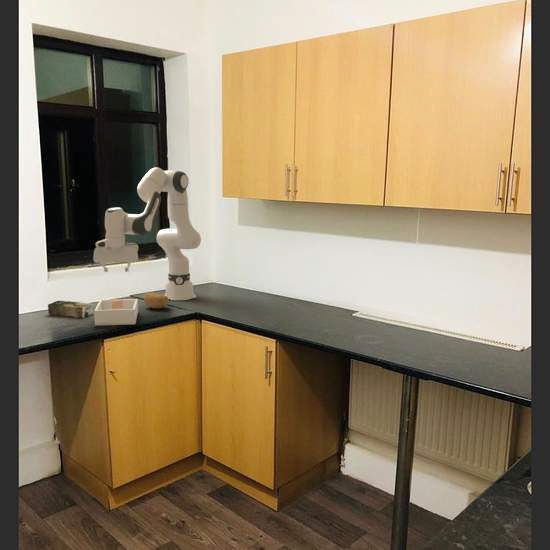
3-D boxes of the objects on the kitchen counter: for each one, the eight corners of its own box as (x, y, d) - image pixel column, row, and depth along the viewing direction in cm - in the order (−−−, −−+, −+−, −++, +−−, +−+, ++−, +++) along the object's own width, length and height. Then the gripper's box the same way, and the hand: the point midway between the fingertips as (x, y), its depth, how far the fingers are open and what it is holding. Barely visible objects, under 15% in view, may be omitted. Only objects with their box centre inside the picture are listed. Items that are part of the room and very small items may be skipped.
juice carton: (95, 313, 275) (95, 301, 274) (85, 318, 266) (84, 306, 265) (59, 311, 279) (58, 299, 278) (47, 316, 270) (46, 304, 269)
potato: (161, 312, 280) (161, 296, 279) (139, 308, 286) (139, 293, 285) (173, 308, 289) (173, 293, 287) (151, 304, 295) (151, 290, 293)
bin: (100, 313, 275) (100, 299, 273) (138, 312, 278) (137, 299, 277) (94, 325, 253) (94, 310, 252) (135, 324, 257) (134, 309, 255)
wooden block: (113, 315, 268) (112, 299, 266) (123, 315, 268) (123, 299, 267) (111, 318, 263) (111, 301, 261) (122, 317, 263) (122, 301, 262)
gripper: (138, 241, 264) (139, 270, 267) (94, 241, 261) (95, 270, 263) (137, 243, 258) (138, 272, 261) (92, 243, 254) (93, 273, 257)
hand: (116, 271), depth 262 cm, fingers open, 8 cm apart
